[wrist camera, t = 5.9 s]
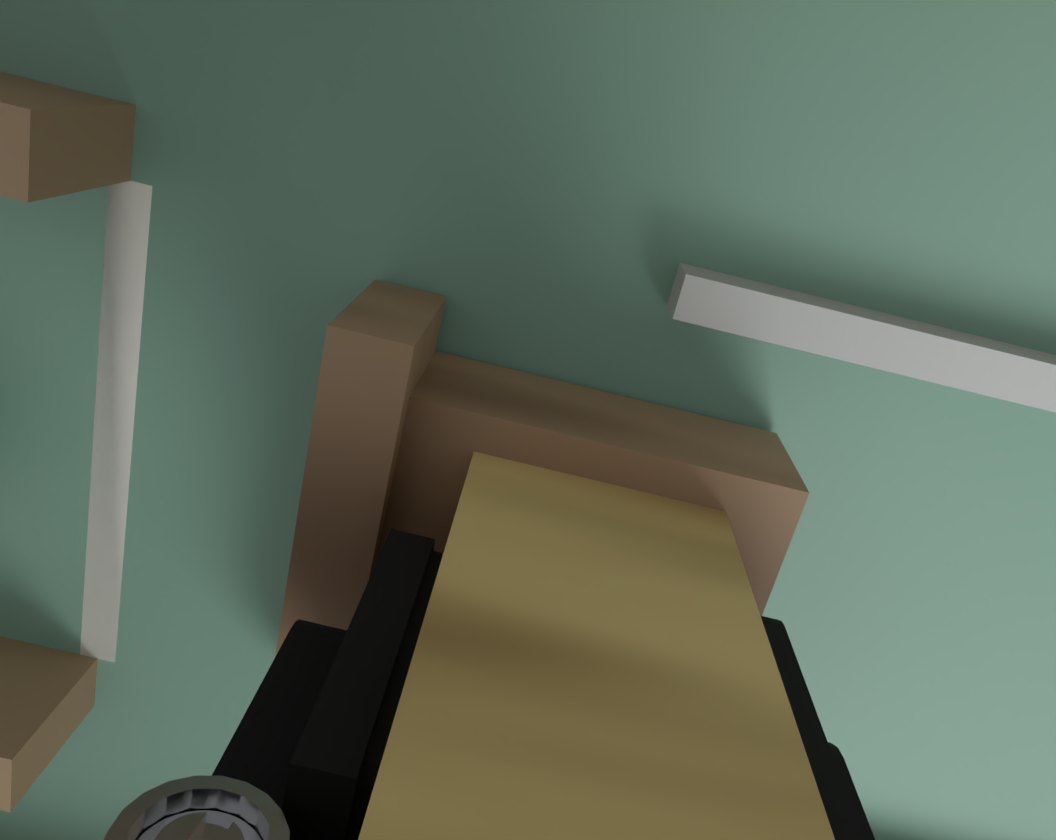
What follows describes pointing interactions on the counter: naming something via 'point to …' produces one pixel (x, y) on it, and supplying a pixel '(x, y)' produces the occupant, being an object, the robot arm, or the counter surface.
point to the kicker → (555, 595)
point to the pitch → (531, 338)
